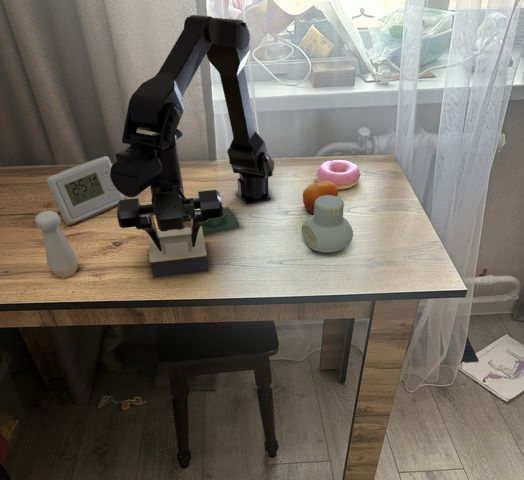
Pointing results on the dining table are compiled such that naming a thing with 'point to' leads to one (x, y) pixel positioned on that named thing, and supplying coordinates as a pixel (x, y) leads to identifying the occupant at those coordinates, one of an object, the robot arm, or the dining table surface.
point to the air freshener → (327, 226)
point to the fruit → (318, 193)
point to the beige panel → (177, 245)
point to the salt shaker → (56, 245)
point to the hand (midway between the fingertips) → (176, 248)
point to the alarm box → (220, 223)
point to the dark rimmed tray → (179, 266)
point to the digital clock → (84, 190)
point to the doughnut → (339, 173)
